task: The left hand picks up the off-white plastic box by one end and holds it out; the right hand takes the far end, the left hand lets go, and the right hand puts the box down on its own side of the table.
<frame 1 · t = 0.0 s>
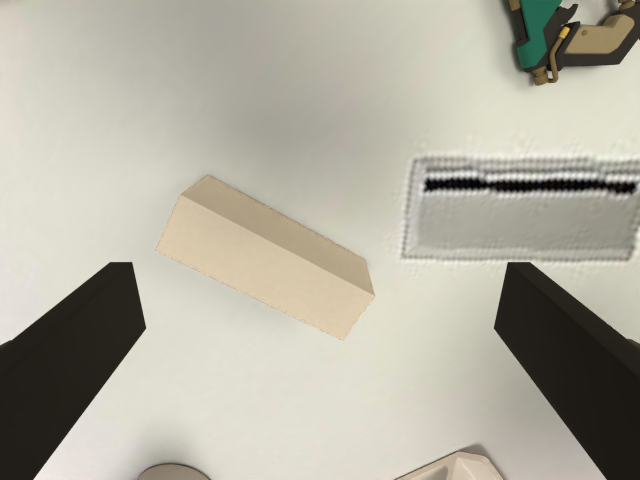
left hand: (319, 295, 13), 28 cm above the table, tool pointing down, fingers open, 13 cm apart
box: (277, 240, 42), on the table
bust sculpture: (170, 473, 57), on the table
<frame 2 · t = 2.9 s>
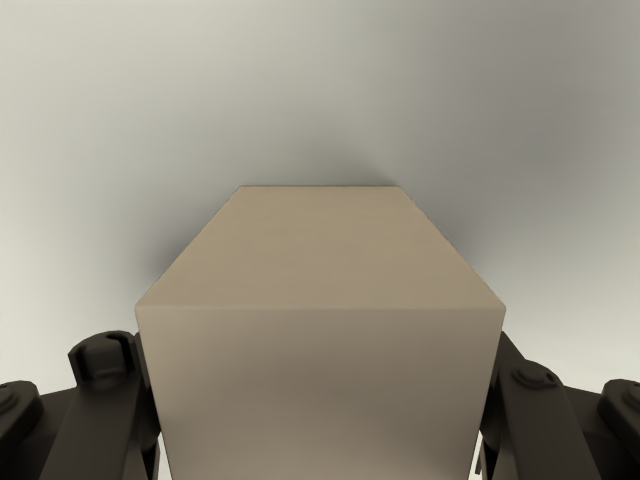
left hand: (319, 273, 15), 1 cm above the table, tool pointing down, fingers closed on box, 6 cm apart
box: (320, 392, 18), on the table, touching left hand
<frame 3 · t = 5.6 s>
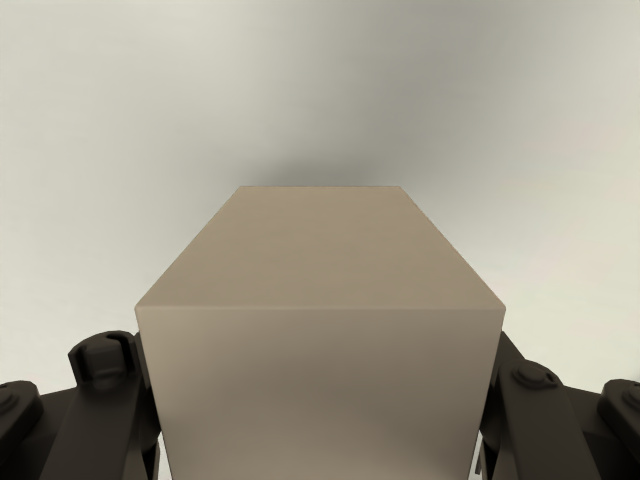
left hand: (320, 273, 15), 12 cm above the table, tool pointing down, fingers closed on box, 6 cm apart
box: (320, 392, 18), point 11 cm above the table, touching left hand
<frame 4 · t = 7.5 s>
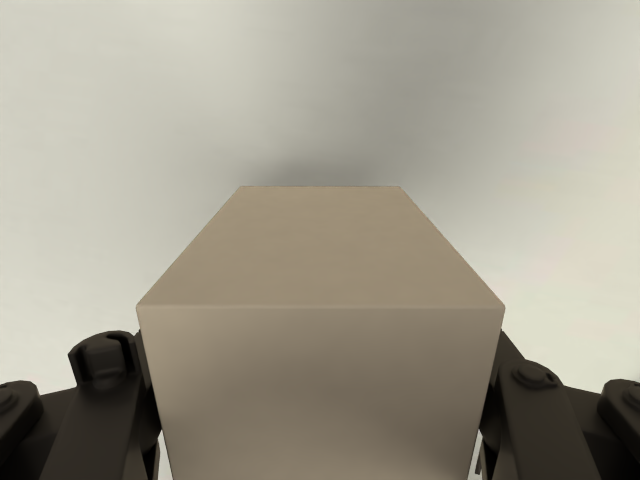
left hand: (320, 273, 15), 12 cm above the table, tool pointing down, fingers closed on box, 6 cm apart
box: (319, 391, 18), point 11 cm above the table, touching left hand, right hand
when the left hand's fingers open (12 cm above the table, at t = 8.4 s): box stays where it is, held by the right hand.
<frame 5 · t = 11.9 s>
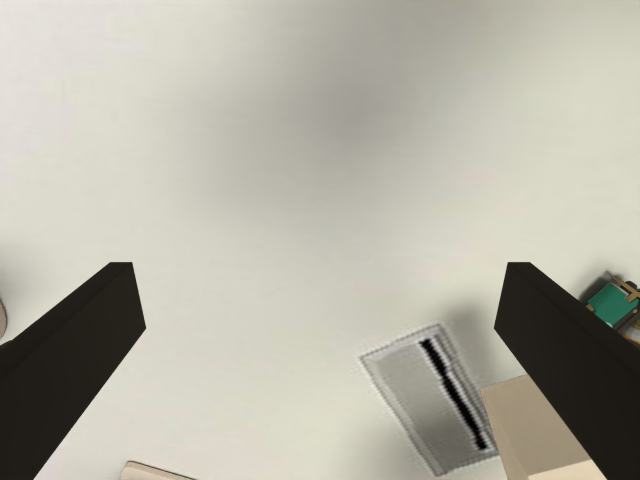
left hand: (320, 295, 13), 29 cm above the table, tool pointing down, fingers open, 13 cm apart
box: (531, 451, 37), point 14 cm above the table, touching right hand
spray gun: (584, 336, 48), on the table
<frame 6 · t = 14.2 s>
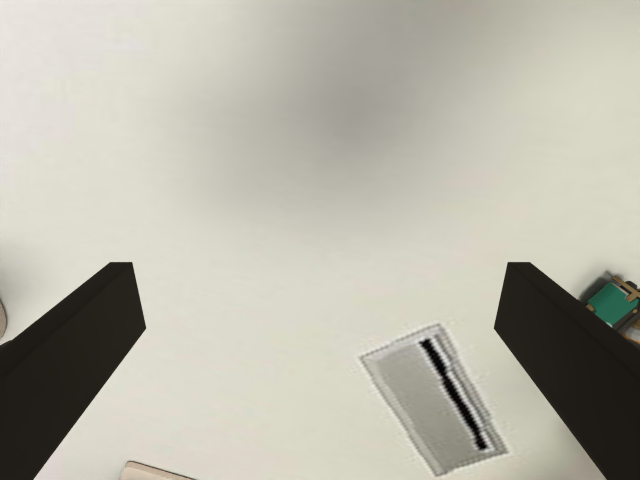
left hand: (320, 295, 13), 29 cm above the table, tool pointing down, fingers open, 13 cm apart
spray gun: (584, 336, 48), on the table
when the right hand's fingers open (5 cm above the table, at t = 16.3 s): box drops 1 cm, on the table.
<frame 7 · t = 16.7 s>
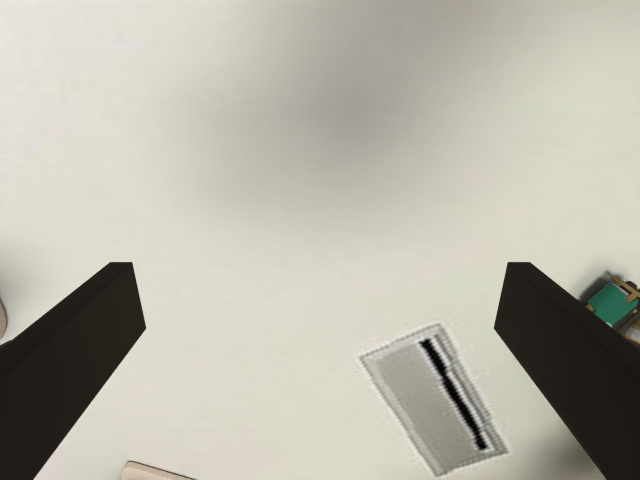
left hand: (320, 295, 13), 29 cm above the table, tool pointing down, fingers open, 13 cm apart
spray gun: (584, 336, 48), on the table
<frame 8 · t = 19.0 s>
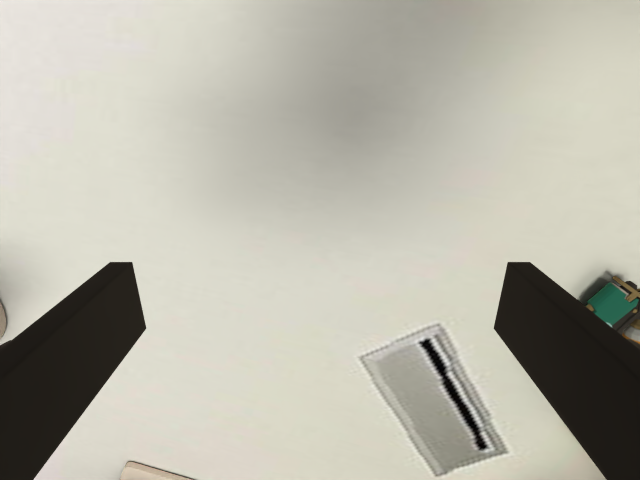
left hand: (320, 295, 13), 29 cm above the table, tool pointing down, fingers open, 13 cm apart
spray gun: (584, 336, 48), on the table
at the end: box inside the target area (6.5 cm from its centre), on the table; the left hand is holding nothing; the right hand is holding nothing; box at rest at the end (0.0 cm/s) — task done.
